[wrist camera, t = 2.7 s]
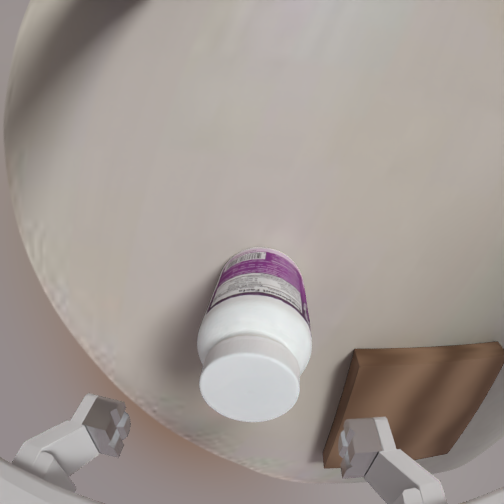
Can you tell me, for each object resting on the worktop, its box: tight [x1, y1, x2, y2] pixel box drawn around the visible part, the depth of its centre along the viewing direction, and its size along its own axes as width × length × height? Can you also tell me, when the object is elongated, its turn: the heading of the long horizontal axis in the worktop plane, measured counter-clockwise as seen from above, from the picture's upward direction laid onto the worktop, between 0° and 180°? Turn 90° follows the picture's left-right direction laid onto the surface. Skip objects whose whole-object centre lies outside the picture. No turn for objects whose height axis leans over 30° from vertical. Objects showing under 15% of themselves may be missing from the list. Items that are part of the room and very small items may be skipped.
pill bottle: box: [197, 247, 312, 422], centre depth 16 cm, size 5×5×10 cm
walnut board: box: [323, 342, 504, 468], centre depth 23 cm, size 14×14×2 cm
